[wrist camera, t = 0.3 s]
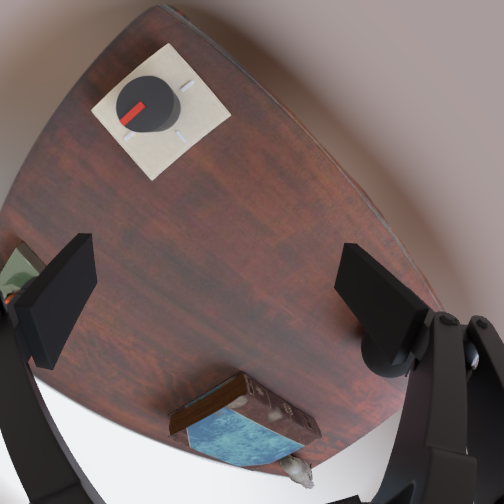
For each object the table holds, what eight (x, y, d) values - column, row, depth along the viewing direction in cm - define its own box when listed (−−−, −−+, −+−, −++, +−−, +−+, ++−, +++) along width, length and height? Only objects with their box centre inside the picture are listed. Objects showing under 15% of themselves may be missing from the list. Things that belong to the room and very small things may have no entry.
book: (315, 418, 52) (322, 436, 48) (248, 453, 55) (251, 471, 50) (242, 369, 43) (247, 393, 39) (167, 415, 45) (166, 437, 41)
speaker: (339, 340, 44) (365, 385, 35) (379, 291, 41) (416, 330, 32) (375, 355, 47) (402, 394, 38) (412, 312, 45) (445, 347, 36)
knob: (162, 79, 24) (149, 63, 17) (190, 111, 25) (185, 104, 19) (127, 109, 24) (103, 103, 18) (154, 141, 26) (139, 145, 19)
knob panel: (171, 50, 25) (168, 42, 22) (228, 116, 29) (231, 114, 26) (100, 111, 26) (89, 110, 23) (156, 176, 30) (151, 181, 27)
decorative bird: (291, 444, 55) (300, 470, 49) (313, 462, 62) (321, 484, 55) (270, 452, 56) (277, 479, 49) (295, 469, 62) (301, 492, 56)
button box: (23, 241, 30) (8, 253, 26) (74, 294, 34) (63, 310, 30) (-7, 291, 31) (-19, 305, 28) (38, 335, 35) (28, 351, 32)
